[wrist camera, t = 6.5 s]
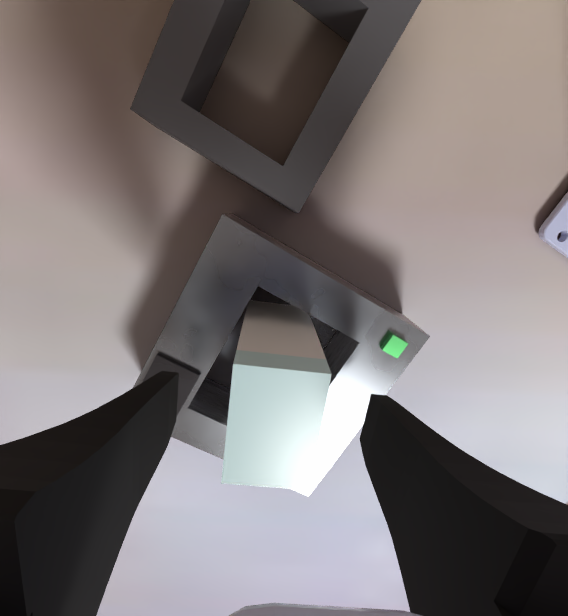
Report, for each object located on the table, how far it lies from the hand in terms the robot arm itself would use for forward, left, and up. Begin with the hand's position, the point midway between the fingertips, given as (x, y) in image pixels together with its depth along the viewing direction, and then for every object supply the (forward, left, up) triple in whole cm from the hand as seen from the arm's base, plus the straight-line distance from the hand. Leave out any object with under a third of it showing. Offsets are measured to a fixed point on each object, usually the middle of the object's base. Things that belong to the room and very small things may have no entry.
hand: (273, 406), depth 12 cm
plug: (0, 0, -5) cm, 5 cm away
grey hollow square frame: (+6, -10, -5) cm, 13 cm away
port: (0, 0, -5) cm, 5 cm away
